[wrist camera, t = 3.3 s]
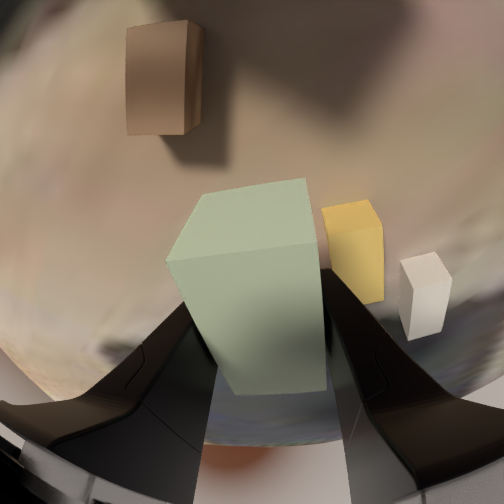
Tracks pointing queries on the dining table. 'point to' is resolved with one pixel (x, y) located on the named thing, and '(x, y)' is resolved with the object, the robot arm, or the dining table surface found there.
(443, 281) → the grey brick
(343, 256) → the mustard brick
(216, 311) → the sage brick
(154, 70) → the walnut brick
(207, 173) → the dining table surface
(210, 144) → the dining table surface
